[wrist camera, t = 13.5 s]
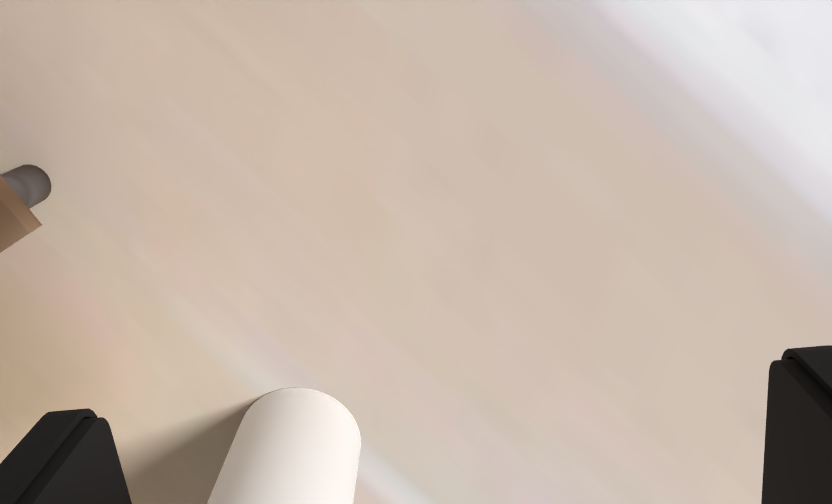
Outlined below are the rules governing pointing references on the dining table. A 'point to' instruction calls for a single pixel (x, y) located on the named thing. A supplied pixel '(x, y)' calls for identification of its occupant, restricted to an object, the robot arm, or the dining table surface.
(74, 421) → the robot arm
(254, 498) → the cylindrical container
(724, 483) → the dining table surface
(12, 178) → the walnut shelf
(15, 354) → the dining table surface
